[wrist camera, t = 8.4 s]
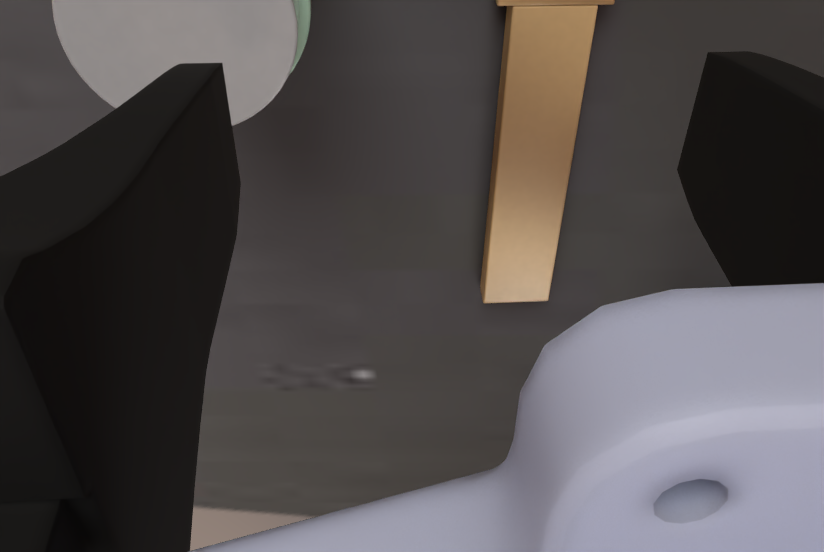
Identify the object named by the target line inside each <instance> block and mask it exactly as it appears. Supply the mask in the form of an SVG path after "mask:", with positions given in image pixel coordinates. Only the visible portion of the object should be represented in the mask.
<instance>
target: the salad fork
mask: <svg viewBox="0 0 824 552" xmlns="http://www.w3.org/2000/svg"><path fill="white" fill-rule="evenodd" d="M495 1H496V3H497V5H498V6H507V10H506V21H505V32H504V42H503V53H502V63H501V74H500V84H499V95H498V105H497V116H496V127H495V137H494V148H493V158H492V169H491V179H490V190H489V200H488V211H487V222H486V232H485V243H484V253H483V264H482V274H481V285H480V290H481V294H482V299H483V302H484V303H506V302H533V301H548V299H549V293H550V287H551V281H552V275H553V269H554V263H555V257H556V251H557V245H558V240H559V234H560V228H561V222H562V216H563V210H564V204H565V198H566V192H567V186H568V181H569V175H570V169H571V163H572V157H573V151H574V145H575V139H576V133H577V127H578V122H579V116H580V110H581V104H582V98H583V92H584V86H585V80H586V74H587V68H588V63H589V57H590V51H591V45H592V39H593V33H594V27H595V21H596V15H597V9H598V6H597V5H612V4H614V1H615V0H495Z"/></svg>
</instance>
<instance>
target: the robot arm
mask: <svg viewBox="0 0 824 552" xmlns="http://www.w3.org/2000/svg"><path fill="white" fill-rule="evenodd" d="M677 170H678V174H679V177H680V180H681V183H682V186H683V189H684V192H685V195H686V198H687V201H688V203H689V206H690V208H691V211H692V214H693V216H694V219H695V221H696V223H697V225H698V227H699V229H700V230H701V232H702V234H703V236H704V238H705V239H706V241H707V243H708V245H709V247H710V249H711V250H712V252H713V254H714V256H715V258H716V259H717V261H718V263H719V264H720V266H721V268H722V270H723V271H724V273H725V275H726V277H727V278H728V280H729V282H730V284H731V285H732V287H714V288H689V289H672V290H667V291H663V292H658V293H654V294H650V295H646V296H641V297H637V298H633V299H628V300H624V301H620V302H616V303H611V304H607V305H603V306H601V307H599V308H598V309H596V310H595V311H593V312H592V313H591V314H589V315H588V316H586V317H585V318H583V319H582V320H580V321H579V322H577V323H576V324H575V325H573V326H572V327H570V328H569V329H567V330H566V331H564V332H563V333H561V334H560V335H559V336H557V337H556V338H554V339H553V340H551V341H550V342H548V343H547V344H545V345H544V347H543V349H542V351H541V353H540V355H539V357H538V359H537V361H536V362H535V364H534V366H533V368H532V370H531V372H530V374H529V376H528V378H527V380H526V382H525V383H524V385H523V387H522V389H521V391H520V397H519V404H518V411H517V418H516V425H515V431H514V438H513V441H512V444H511V447H510V450H509V453H508V456H507V458H506V460H505V461H504V462H503V463H501V464H500V465H498V466H497V467H495V468H493V469H490V470H486V471H483V472H479V473H475V474H472V475H468V476H464V477H461V478H457V479H453V480H450V481H446V482H442V483H439V484H435V485H431V486H428V487H424V488H420V489H416V490H413V491H409V492H405V493H402V494H398V495H394V496H391V497H387V498H383V499H380V500H376V501H372V502H369V503H365V504H361V505H358V506H354V507H350V508H347V509H343V510H339V511H336V512H332V513H328V514H325V515H321V516H317V517H314V518H310V519H306V520H303V521H299V522H295V523H291V524H288V525H285V526H280V527H277V528H273V529H269V530H266V531H262V532H259V533H255V534H252V535H247V536H244V537H241V538H237V539H233V540H229V541H225V542H222V543H218V544H215V545H211V546H207V547H203V548H200V549H196V550H192V551H190V540H191V527H192V513H193V500H194V487H195V476H196V465H197V454H198V443H199V432H200V422H201V413H202V404H203V395H204V385H205V376H206V369H207V363H208V358H209V352H210V347H211V343H212V338H213V334H214V330H215V326H216V321H217V317H218V313H219V309H220V305H221V300H222V296H223V292H224V288H225V283H226V279H227V275H228V271H229V266H230V262H231V258H232V253H233V249H234V244H235V240H236V235H237V224H238V212H239V198H240V176H239V170H238V163H237V157H236V150H235V143H234V137H233V130H232V124H231V117H230V110H229V104H228V97H227V91H226V84H225V78H224V71H223V64H222V63H183V64H178V65H176V66H174V67H172V68H171V69H169V70H168V71H166V72H165V73H163V74H162V75H161V76H159V77H158V78H157V79H155V80H154V81H153V82H151V83H150V84H149V85H147V86H146V87H145V88H143V89H142V90H141V91H139V92H138V93H137V94H135V95H134V96H133V97H131V98H130V99H129V100H127V101H126V102H124V103H123V104H122V105H120V106H119V107H118V108H116V109H115V110H114V111H112V112H111V113H110V114H108V115H107V116H105V117H104V118H102V119H101V120H99V121H97V122H96V123H94V124H93V125H91V126H90V127H88V128H87V129H85V130H84V131H82V132H81V133H79V134H78V135H76V136H75V137H73V138H72V139H70V140H68V141H67V142H65V143H64V144H62V145H60V146H59V147H57V148H55V149H54V150H52V151H50V152H48V153H46V154H44V155H43V156H41V157H39V158H37V159H35V160H33V161H31V162H29V163H27V164H25V165H23V166H21V167H19V168H17V169H15V170H13V171H11V172H9V173H7V174H5V175H3V176H0V552H824V78H823V77H821V76H818V75H816V74H813V73H811V72H808V71H806V70H804V69H801V68H799V67H796V66H794V65H791V64H788V63H786V62H783V61H780V60H777V59H774V58H771V57H768V56H765V55H761V54H757V53H753V52H708V54H707V58H706V62H705V65H704V69H703V73H702V77H701V81H700V85H699V88H698V92H697V96H696V100H695V104H694V108H693V111H692V115H691V119H690V123H689V127H688V130H687V134H686V138H685V142H684V146H683V150H682V153H681V157H680V161H679V165H678V169H677Z"/></svg>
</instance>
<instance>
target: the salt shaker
mask: <svg viewBox="0 0 824 552" xmlns="http://www.w3.org/2000/svg"><path fill="white" fill-rule="evenodd" d="M311 6H312V0H52V11H53V19H54V23H55V27H56V30H57V34H58V37H59V39H60V42H61V44H62V47H63V49H64V51H65V53H66V55H67V57H68V58H69V60H70V62H71V64H72V65H73V67H74V68H75V69H76V71H77V72H78V74H79V75H80V76H81V78H82V79H83V80H84V81H85V82H86V83H87V84H88V86H89V87H90V88H91V89H92V90H93V91H94V92H96V93H97V94H98V95H99V96H100V97H101V98H102V99H103V100H105V101H106V102H107V103H109V104H110V105H112V106H113V107H114V108H118V107H119V106H120V105H122V104H123V103H124V102H126V101H127V100H129V99H130V98H131V97H133V96H134V95H135V94H137V93H138V92H139V91H141V90H142V89H143V88H145V87H146V86H147V85H149V84H150V83H151V82H153V81H154V80H155V79H157V78H158V77H159V76H161V75H162V74H163V73H165V72H166V71H168V70H169V69H171V68H172V67H174V66H176V65H178V64H183V63H222V64H223V71H224V78H225V84H226V91H227V97H228V104H229V110H230V117H231V124H232V126H233V125H236V124H238V123H241V122H243V121H245V120H247V119H248V118H250V117H252V116H254V115H255V114H257V113H258V112H259V111H261V110H262V109H263V108H265V107H266V106H267V105H268V104H269V103H270V102H271V101H272V100H273V99H274V98H275V97H276V95H277V94H278V93H279V91H280V90H281V89H282V87H283V85H284V84H285V82H286V80H287V78H288V77H289V75H290V74H291V72H292V71H293V70H294V68H295V67H296V65H297V63H298V61H299V59H300V58H301V56H302V53H303V50H304V48H305V45H306V42H307V38H308V34H309V29H310V20H311Z"/></svg>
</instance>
